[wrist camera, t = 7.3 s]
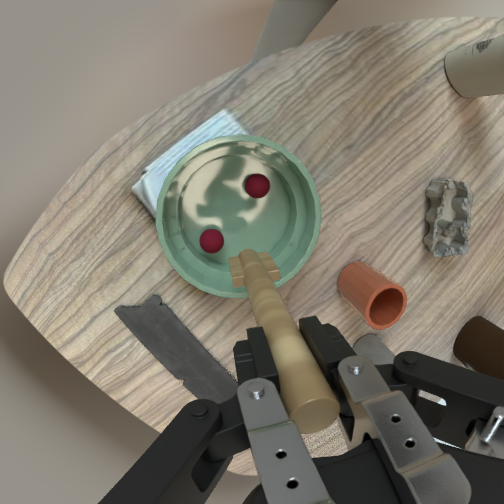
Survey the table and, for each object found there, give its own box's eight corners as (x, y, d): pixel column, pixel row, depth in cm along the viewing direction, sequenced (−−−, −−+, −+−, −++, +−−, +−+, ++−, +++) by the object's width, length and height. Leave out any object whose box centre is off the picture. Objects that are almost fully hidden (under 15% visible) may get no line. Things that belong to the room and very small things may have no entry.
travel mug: (481, 91, 32) (564, 83, 14) (458, 104, 32) (552, 96, 15) (460, 48, 29) (540, 27, 12) (435, 57, 30) (525, 30, 12)
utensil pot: (336, 265, 36) (366, 289, 28) (373, 258, 36) (408, 279, 29) (337, 304, 37) (364, 334, 30) (372, 295, 38) (404, 322, 30)
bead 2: (242, 175, 31) (244, 175, 28) (266, 171, 31) (270, 171, 29) (245, 198, 32) (248, 201, 29) (269, 195, 32) (273, 197, 29)
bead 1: (197, 228, 32) (196, 233, 29) (221, 224, 32) (222, 229, 30) (201, 251, 33) (201, 258, 30) (225, 247, 33) (226, 254, 30)
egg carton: (424, 176, 34) (444, 178, 30) (459, 181, 35) (478, 183, 31) (419, 252, 37) (436, 261, 33) (453, 250, 38) (470, 257, 34)
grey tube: (373, 358, 41) (406, 398, 31) (348, 360, 40) (379, 404, 30) (382, 332, 40) (419, 371, 30) (356, 334, 39) (392, 376, 29)
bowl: (156, 153, 30) (143, 150, 24) (294, 134, 31) (312, 127, 25) (180, 286, 34) (174, 309, 28) (307, 265, 35) (325, 283, 29)
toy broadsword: (154, 278, 34) (150, 284, 32) (298, 433, 43) (301, 441, 41) (112, 309, 34) (107, 316, 32) (262, 451, 43) (264, 459, 41)
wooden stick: (226, 251, 25) (260, 411, 8) (266, 245, 25) (365, 384, 8) (230, 271, 26) (266, 444, 8) (268, 265, 26) (360, 419, 9)
